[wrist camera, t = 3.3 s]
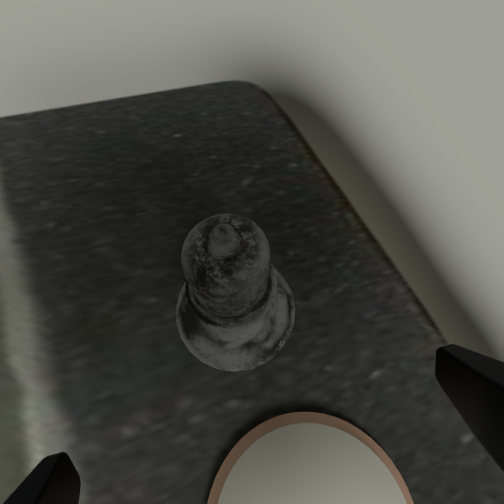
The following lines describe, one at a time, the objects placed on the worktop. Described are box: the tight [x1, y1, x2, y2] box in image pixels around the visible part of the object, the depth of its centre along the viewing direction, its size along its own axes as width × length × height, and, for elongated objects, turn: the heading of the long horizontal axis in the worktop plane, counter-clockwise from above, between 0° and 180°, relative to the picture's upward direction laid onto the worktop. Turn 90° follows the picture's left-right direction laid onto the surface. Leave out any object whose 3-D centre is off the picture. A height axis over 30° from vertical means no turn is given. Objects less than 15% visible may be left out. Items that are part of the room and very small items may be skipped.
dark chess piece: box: [176, 213, 295, 372], centre depth 15 cm, size 6×6×12 cm
